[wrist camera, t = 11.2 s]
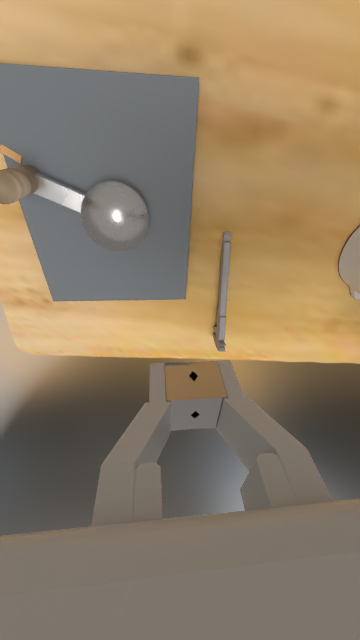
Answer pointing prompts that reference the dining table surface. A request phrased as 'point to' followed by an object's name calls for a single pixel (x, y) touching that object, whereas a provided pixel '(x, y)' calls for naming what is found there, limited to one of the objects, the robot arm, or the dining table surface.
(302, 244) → the dining table surface
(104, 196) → the wooden knob lever
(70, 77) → the base plate
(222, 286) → the caliper
